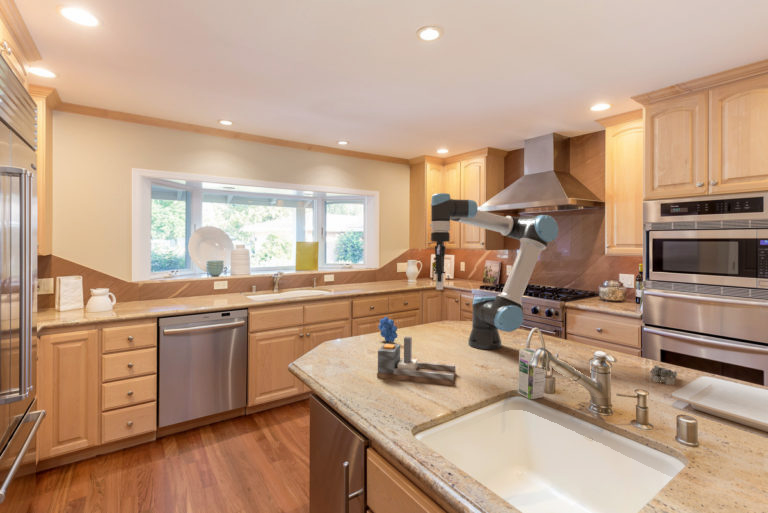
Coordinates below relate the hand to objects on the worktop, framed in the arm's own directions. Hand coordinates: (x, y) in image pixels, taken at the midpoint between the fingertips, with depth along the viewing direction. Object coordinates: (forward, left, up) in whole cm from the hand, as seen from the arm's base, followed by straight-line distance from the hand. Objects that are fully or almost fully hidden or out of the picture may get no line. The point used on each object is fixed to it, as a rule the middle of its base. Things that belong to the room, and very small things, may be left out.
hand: (439, 289), depth 155 cm
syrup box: (-33, +27, -30) cm, 52 cm away
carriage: (+9, +20, -28) cm, 35 cm away
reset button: (+16, +20, -22) cm, 34 cm away
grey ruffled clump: (-80, -1, -30) cm, 86 cm away
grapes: (+28, -20, -30) cm, 45 cm away
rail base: (+6, +20, -29) cm, 36 cm away
